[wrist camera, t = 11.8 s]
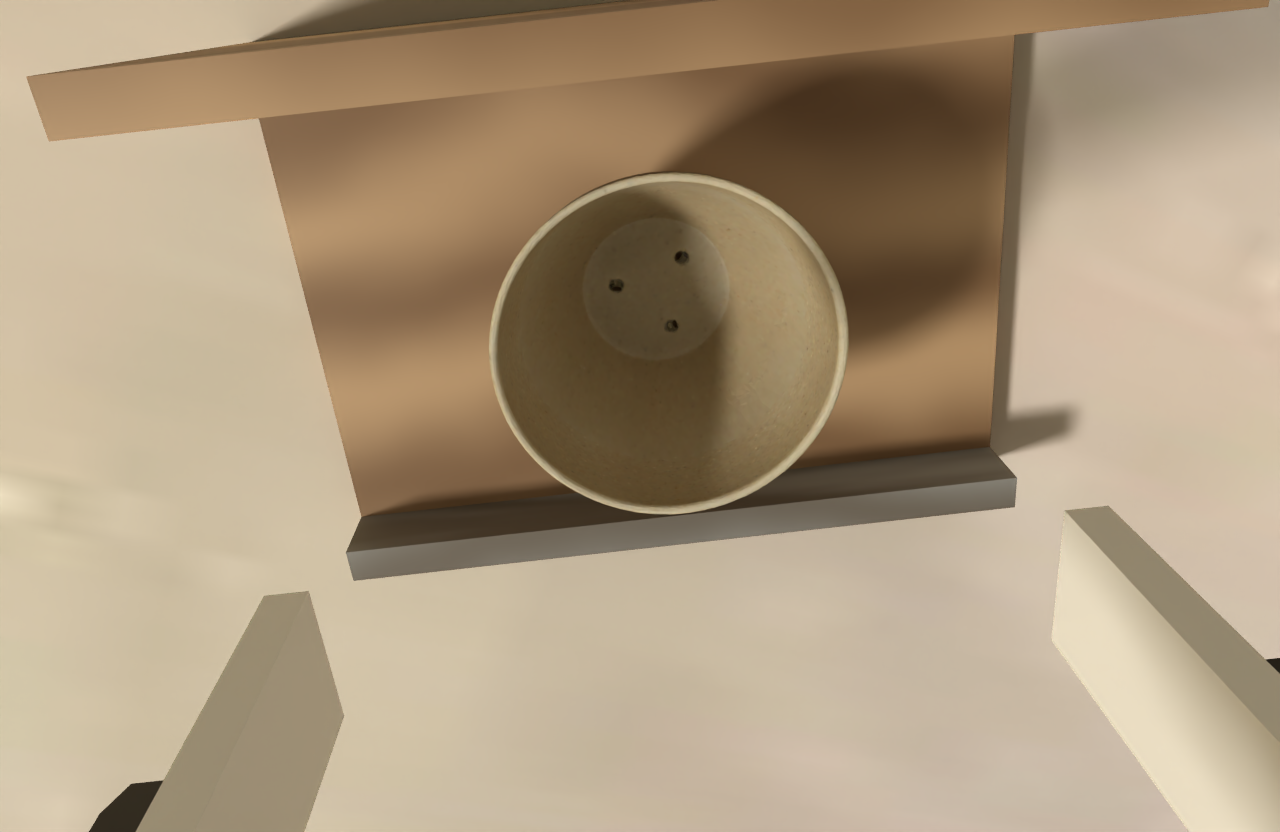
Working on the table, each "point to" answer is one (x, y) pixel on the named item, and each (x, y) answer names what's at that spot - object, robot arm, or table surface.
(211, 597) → the table surface
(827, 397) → the flower pot
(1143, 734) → the robot arm
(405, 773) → the table surface
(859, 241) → the brown piece
